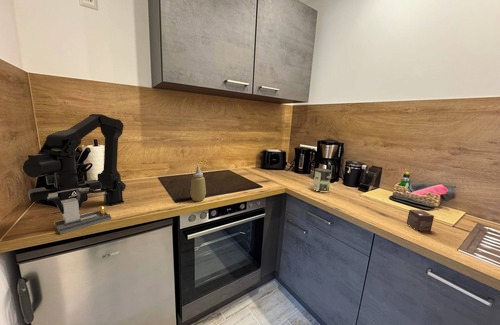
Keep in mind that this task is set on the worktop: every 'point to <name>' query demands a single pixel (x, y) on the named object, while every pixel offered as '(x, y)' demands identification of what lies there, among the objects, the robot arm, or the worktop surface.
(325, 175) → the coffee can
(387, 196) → the worktop surface
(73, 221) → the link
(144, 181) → the worktop surface
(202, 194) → the squeeze bottle
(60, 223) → the rail
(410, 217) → the box
